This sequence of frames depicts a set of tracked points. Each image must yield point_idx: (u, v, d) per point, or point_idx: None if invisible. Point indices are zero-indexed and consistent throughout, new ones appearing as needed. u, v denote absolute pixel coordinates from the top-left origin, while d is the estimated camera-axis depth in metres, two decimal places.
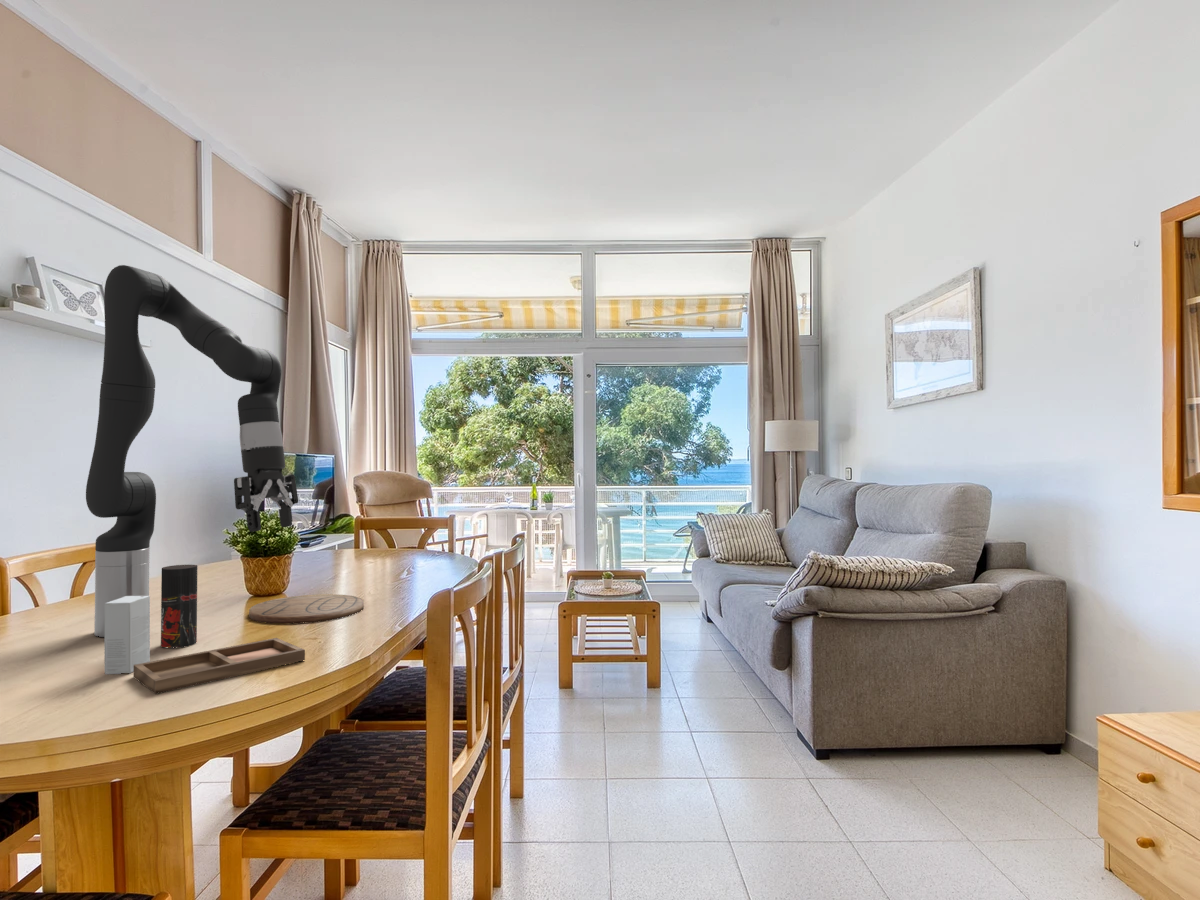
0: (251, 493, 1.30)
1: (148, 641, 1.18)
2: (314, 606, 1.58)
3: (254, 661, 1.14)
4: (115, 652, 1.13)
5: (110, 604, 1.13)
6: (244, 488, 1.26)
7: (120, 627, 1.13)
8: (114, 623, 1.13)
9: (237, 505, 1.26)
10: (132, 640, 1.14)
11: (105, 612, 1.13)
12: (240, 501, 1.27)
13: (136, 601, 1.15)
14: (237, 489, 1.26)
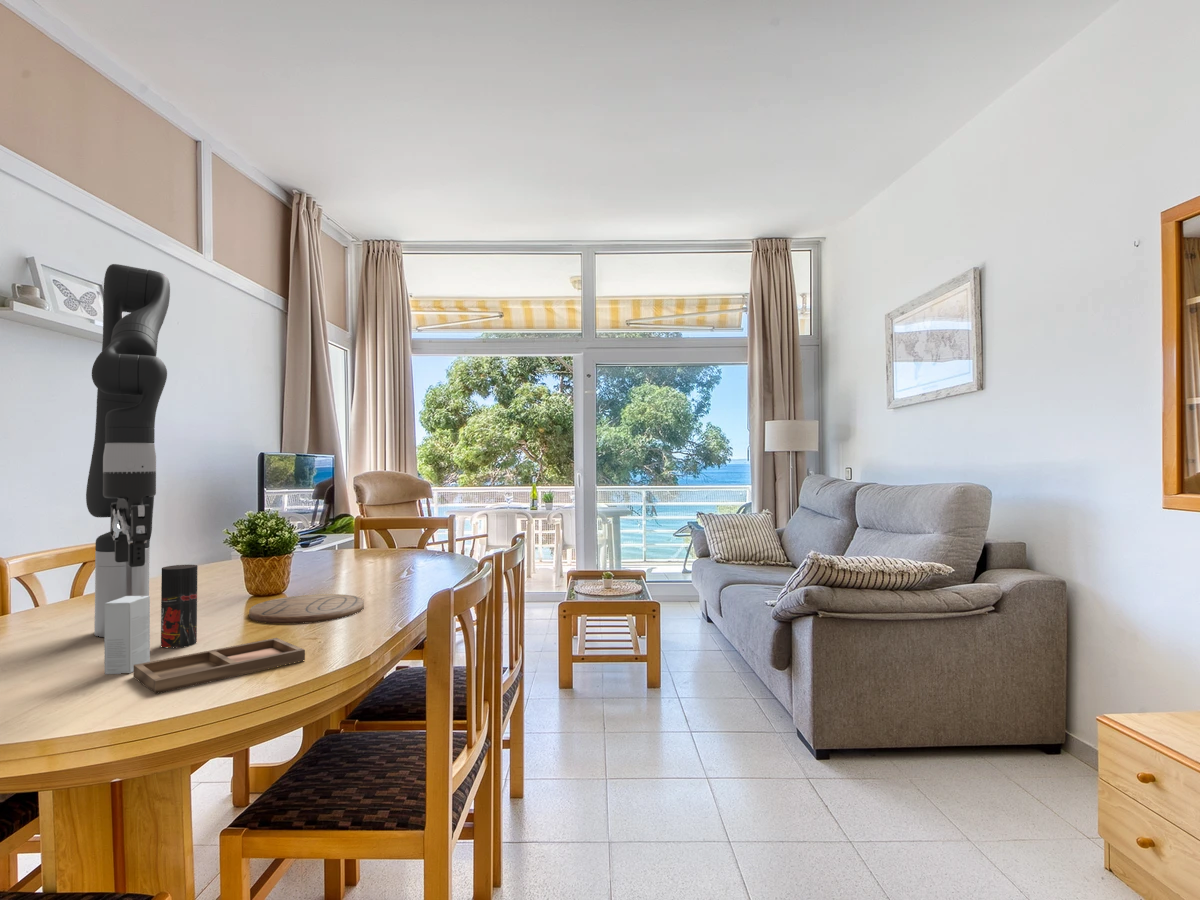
0: None
1: (148, 641, 1.18)
2: (314, 606, 1.58)
3: (254, 661, 1.14)
4: (115, 652, 1.13)
5: (110, 604, 1.13)
6: None
7: (120, 627, 1.13)
8: (114, 623, 1.13)
9: None
10: (132, 640, 1.14)
11: (105, 612, 1.13)
12: None
13: (136, 601, 1.15)
14: None
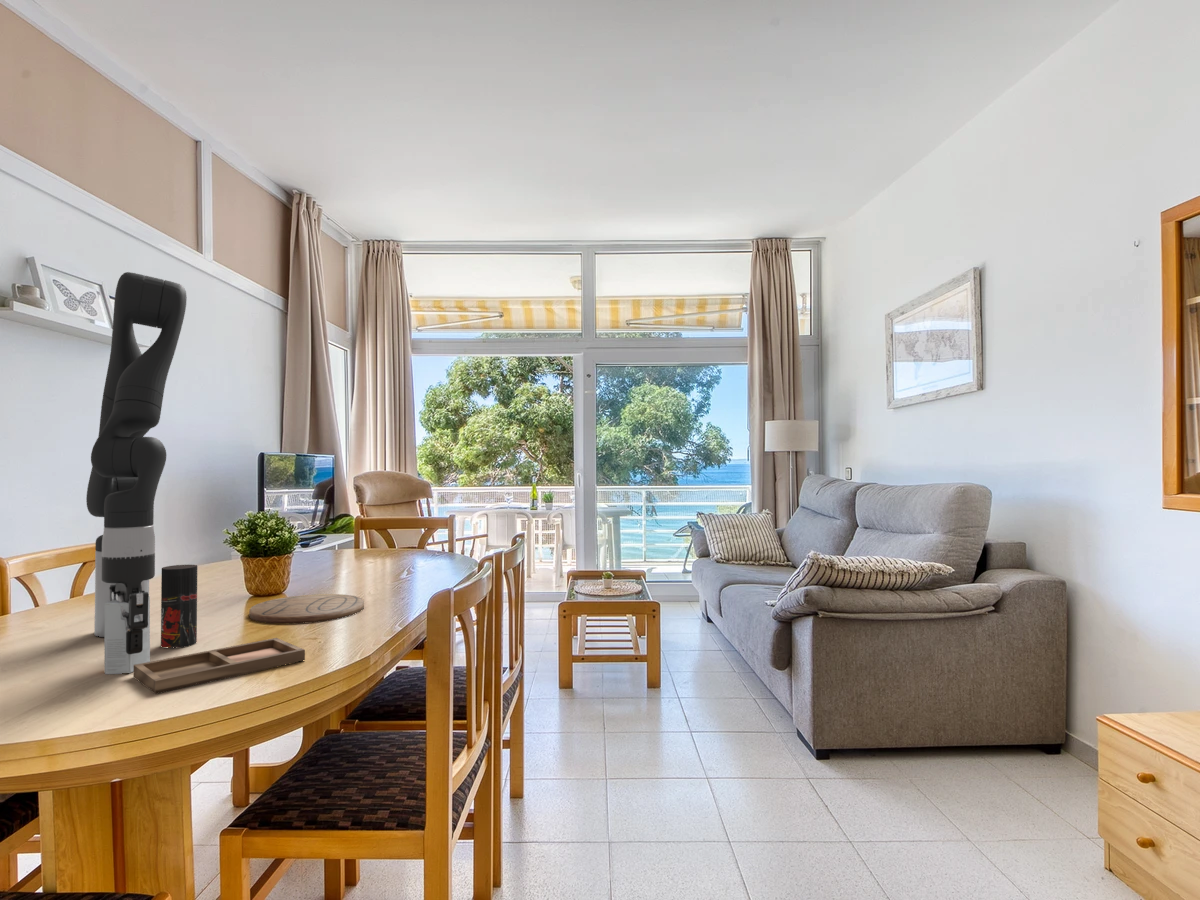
0: None
1: (148, 641, 1.18)
2: (314, 606, 1.58)
3: (254, 661, 1.14)
4: (115, 652, 1.13)
5: (110, 604, 1.13)
6: None
7: (120, 627, 1.13)
8: (114, 623, 1.13)
9: None
10: None
11: (105, 612, 1.13)
12: None
13: None
14: None
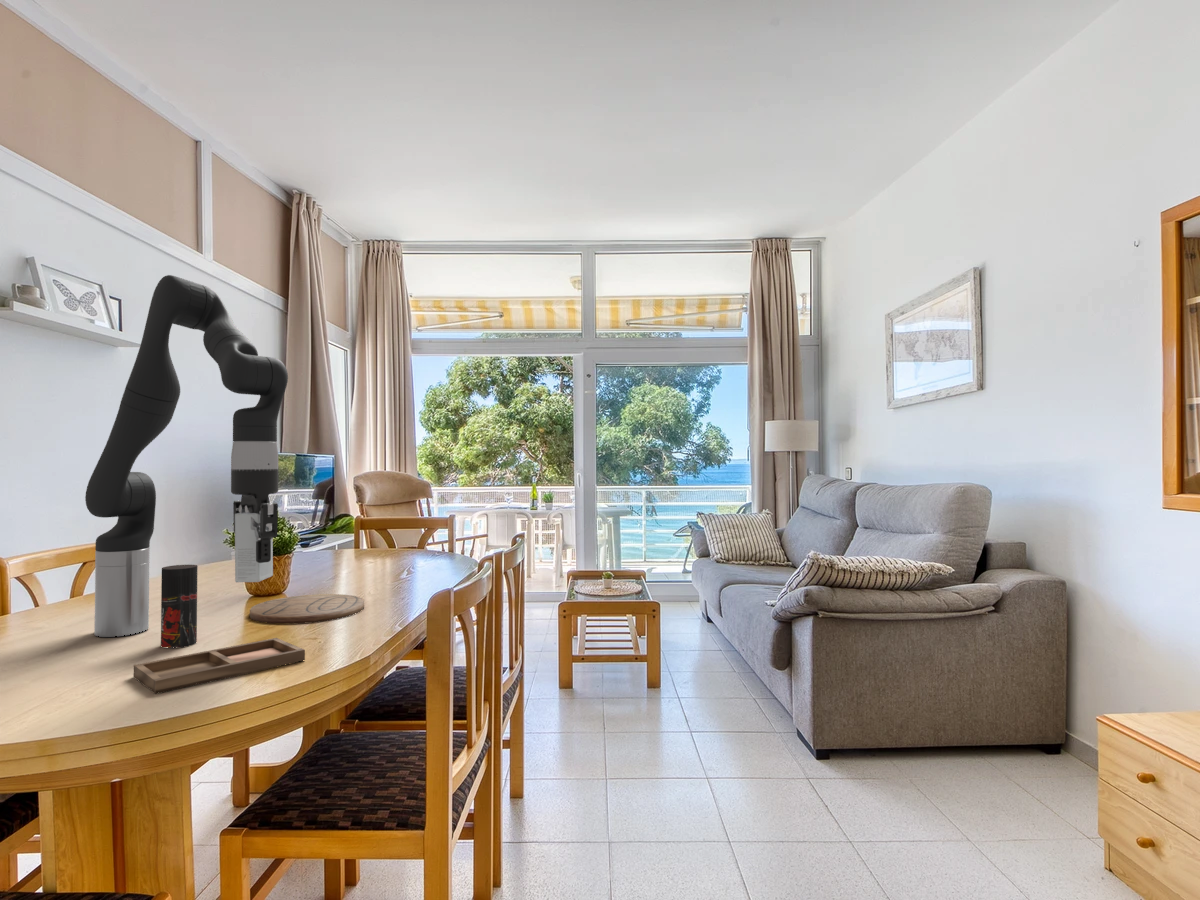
0: None
1: (271, 554, 1.22)
2: (314, 606, 1.58)
3: (254, 661, 1.14)
4: (245, 561, 1.17)
5: (240, 514, 1.17)
6: None
7: (250, 537, 1.17)
8: (244, 533, 1.17)
9: None
10: None
11: (235, 522, 1.17)
12: None
13: None
14: None
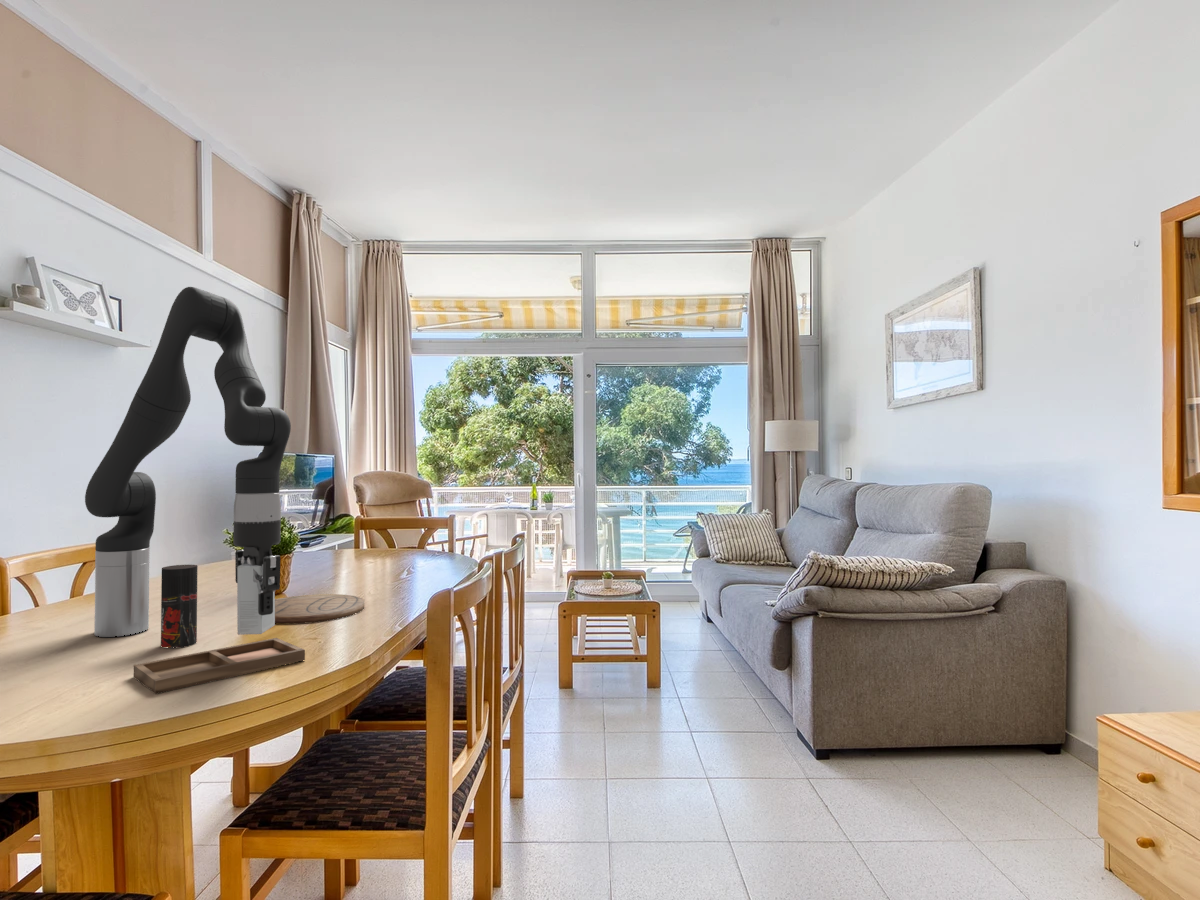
0: None
1: (273, 604, 1.23)
2: (315, 606, 1.58)
3: (254, 661, 1.14)
4: (247, 613, 1.17)
5: (243, 567, 1.17)
6: None
7: (252, 589, 1.17)
8: (246, 585, 1.17)
9: None
10: None
11: (238, 575, 1.17)
12: None
13: None
14: None
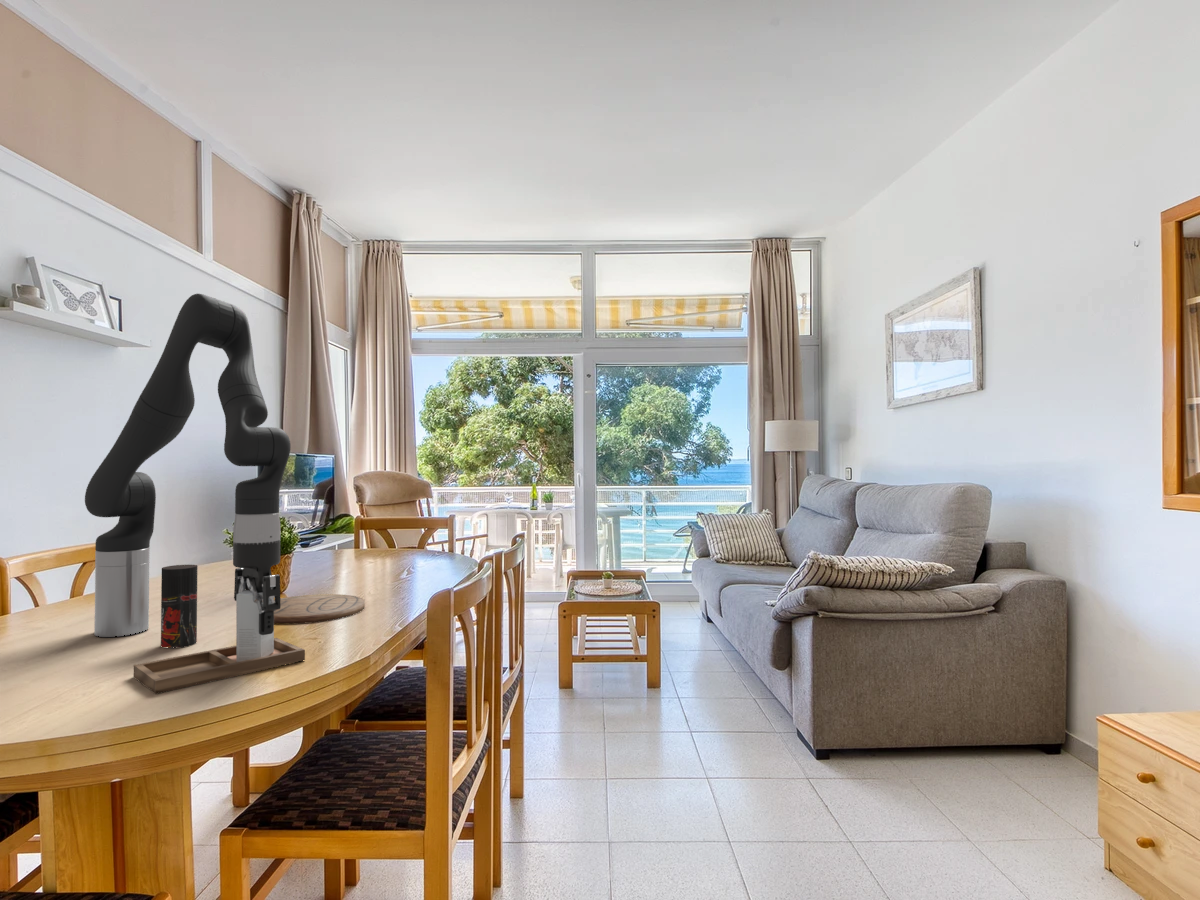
0: None
1: (273, 631, 1.23)
2: (315, 606, 1.58)
3: (254, 661, 1.14)
4: (246, 641, 1.17)
5: (242, 595, 1.17)
6: None
7: (252, 617, 1.17)
8: (245, 613, 1.17)
9: None
10: None
11: (237, 603, 1.17)
12: None
13: None
14: None
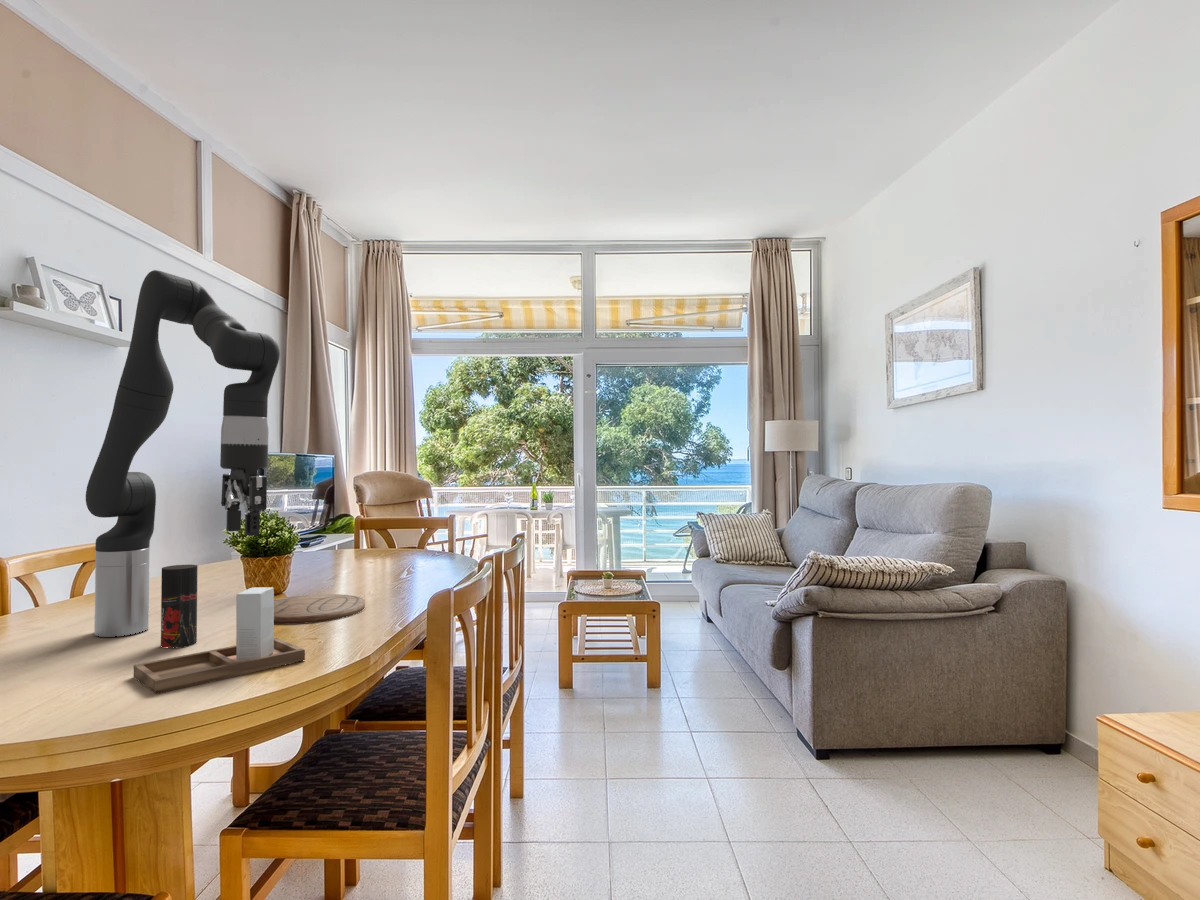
0: None
1: (273, 631, 1.23)
2: (315, 606, 1.58)
3: (254, 661, 1.14)
4: (246, 641, 1.17)
5: (242, 595, 1.17)
6: None
7: (252, 617, 1.17)
8: (245, 613, 1.17)
9: None
10: (262, 629, 1.18)
11: (237, 603, 1.17)
12: None
13: (264, 592, 1.19)
14: None
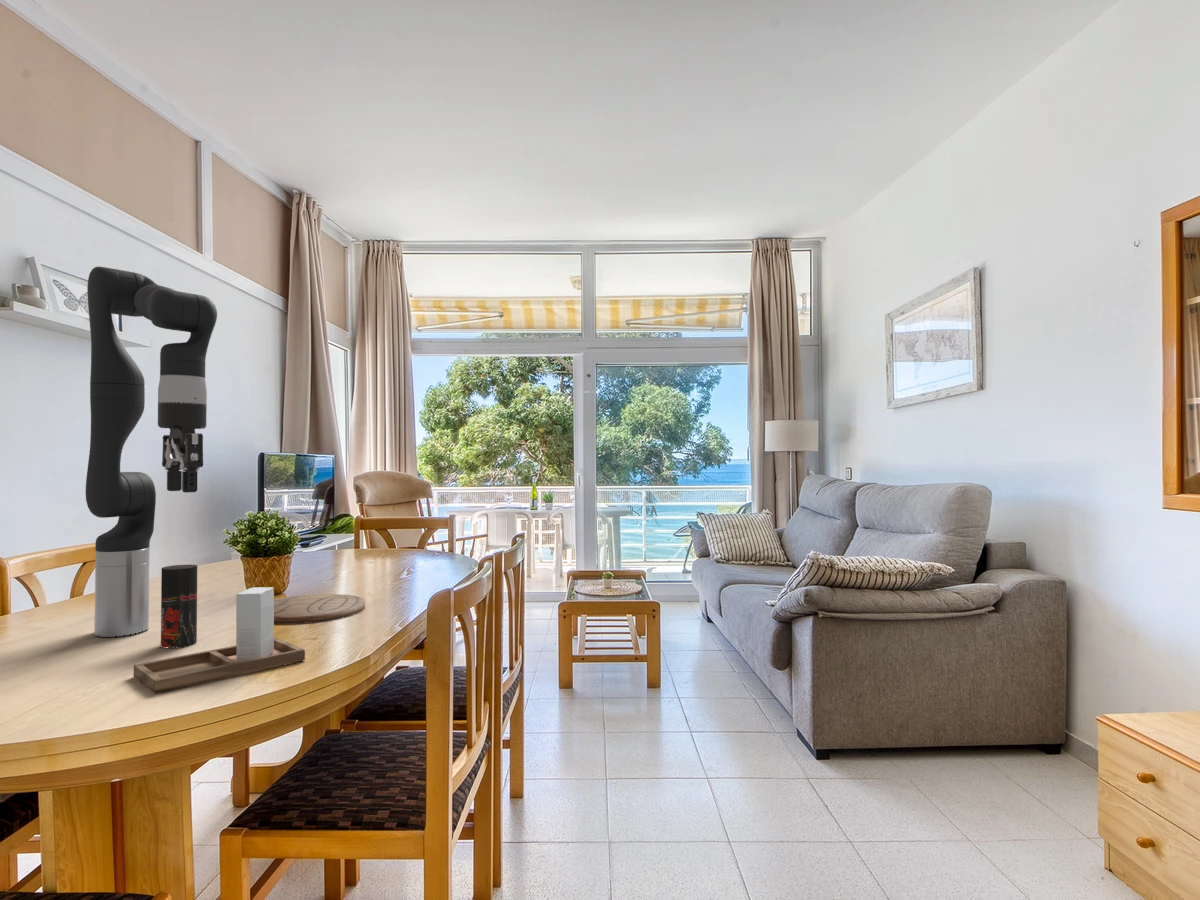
0: None
1: (273, 631, 1.23)
2: (315, 606, 1.58)
3: (254, 661, 1.14)
4: (246, 641, 1.17)
5: (242, 595, 1.17)
6: None
7: (252, 617, 1.17)
8: (245, 613, 1.17)
9: None
10: (262, 629, 1.18)
11: (237, 603, 1.17)
12: None
13: (264, 592, 1.19)
14: None
